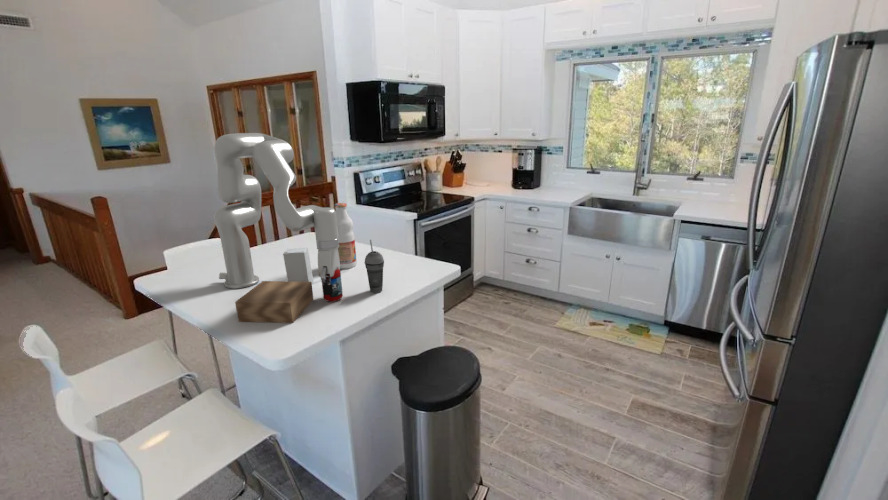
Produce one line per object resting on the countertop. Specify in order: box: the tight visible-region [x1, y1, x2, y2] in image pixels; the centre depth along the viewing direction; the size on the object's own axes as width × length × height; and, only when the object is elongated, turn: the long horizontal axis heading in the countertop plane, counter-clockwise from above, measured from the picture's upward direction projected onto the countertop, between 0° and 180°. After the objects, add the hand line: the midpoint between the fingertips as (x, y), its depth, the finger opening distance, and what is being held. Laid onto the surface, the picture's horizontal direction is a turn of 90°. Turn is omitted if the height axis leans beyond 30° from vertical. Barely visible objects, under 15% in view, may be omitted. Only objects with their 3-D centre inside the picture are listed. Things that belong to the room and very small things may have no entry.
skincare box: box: [282, 247, 314, 285], centre depth 159 cm, size 8×6×15 cm
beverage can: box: [321, 267, 344, 303], centre depth 147 cm, size 7×7×12 cm
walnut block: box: [235, 280, 315, 324], centre depth 140 cm, size 18×18×7 cm
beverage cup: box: [364, 239, 385, 294], centre depth 153 cm, size 7×7×20 cm
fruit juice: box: [334, 202, 357, 270], centre depth 180 cm, size 9×9×28 cm
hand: (332, 289), depth 148 cm, fingers open, 8 cm apart
